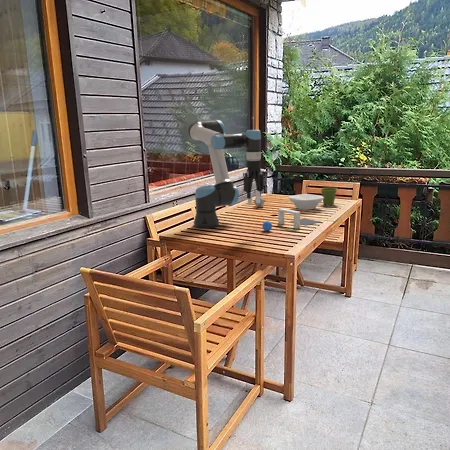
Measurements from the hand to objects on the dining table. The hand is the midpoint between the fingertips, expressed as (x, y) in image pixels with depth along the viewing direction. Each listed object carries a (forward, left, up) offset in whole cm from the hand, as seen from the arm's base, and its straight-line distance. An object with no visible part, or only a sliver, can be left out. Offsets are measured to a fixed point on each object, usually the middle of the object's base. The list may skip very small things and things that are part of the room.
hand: (254, 203), depth 221 cm
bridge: (+27, 0, -17) cm, 31 cm away
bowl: (+70, +26, -17) cm, 76 cm away
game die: (+52, +54, -17) cm, 77 cm away
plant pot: (+94, +26, -17) cm, 99 cm away
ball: (+10, 0, -14) cm, 17 cm away
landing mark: (+41, 0, -17) cm, 44 cm away
